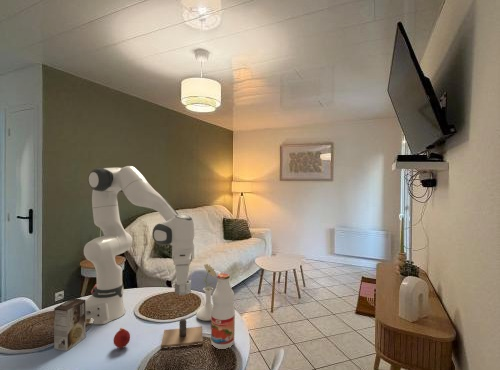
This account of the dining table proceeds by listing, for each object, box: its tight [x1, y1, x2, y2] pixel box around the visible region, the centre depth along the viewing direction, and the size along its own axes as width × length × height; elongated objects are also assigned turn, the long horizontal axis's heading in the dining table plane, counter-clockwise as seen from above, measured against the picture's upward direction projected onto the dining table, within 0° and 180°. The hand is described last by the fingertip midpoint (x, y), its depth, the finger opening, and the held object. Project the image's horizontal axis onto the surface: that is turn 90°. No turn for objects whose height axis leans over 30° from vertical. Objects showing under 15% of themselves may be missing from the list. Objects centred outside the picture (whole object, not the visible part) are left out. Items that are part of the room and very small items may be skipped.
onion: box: [113, 327, 131, 349], centre depth 104 cm, size 6×6×8 cm
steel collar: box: [174, 278, 192, 296], centre depth 110 cm, size 6×6×4 cm
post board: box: [160, 318, 204, 349], centre depth 110 cm, size 16×11×9 cm
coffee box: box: [53, 297, 87, 352], centre depth 106 cm, size 9×6×16 cm
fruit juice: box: [210, 272, 236, 350], centre depth 108 cm, size 9×9×28 cm
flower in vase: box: [195, 263, 217, 322], centre depth 129 cm, size 13×11×25 cm
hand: (183, 287), depth 110 cm, fingers closed on steel collar, 6 cm apart
